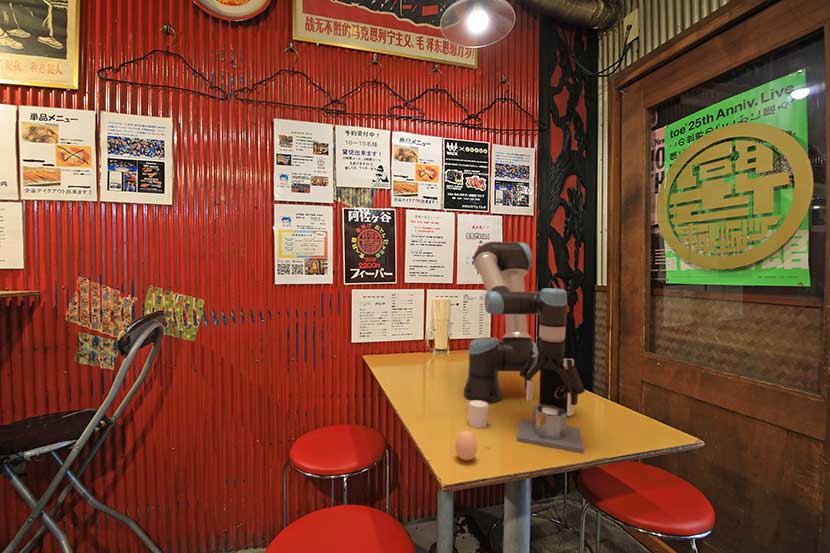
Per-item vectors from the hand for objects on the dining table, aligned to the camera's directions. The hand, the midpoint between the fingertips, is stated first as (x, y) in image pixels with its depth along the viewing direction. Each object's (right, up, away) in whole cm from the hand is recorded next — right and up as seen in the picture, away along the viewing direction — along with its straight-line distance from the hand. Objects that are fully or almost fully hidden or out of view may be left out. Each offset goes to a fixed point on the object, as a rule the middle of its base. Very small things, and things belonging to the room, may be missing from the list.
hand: (549, 407), depth 110 cm
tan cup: (-21, -9, +7) cm, 24 cm away
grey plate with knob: (0, -9, 0) cm, 9 cm away
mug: (0, -8, 0) cm, 8 cm away
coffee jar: (+9, -9, +19) cm, 22 cm away
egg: (-28, -9, -15) cm, 33 cm away
